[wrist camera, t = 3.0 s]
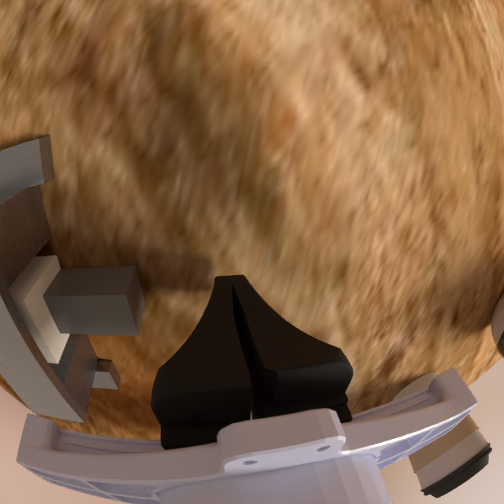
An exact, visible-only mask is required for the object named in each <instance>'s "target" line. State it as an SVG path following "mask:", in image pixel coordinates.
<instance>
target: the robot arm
mask: <svg viewBox="0 0 504 504" xmlns="http://www.w3.org/2000/svg"><path fill="white" fill-rule="evenodd" d="M352 377H353V368H352V366H351V365H350V363H349V361H348V359H347V357H346V356H345V355H344V353H343V352H342V350H341V349H340V348H338V347H335V346H332V345H330V344H327V343H325V342H322V341H320V340H318V339H316V338H314V337H312V336H310V335H308V334H306V333H304V332H303V331H301V330H299V329H298V328H296V327H295V326H293V325H292V324H290V323H289V322H287V321H286V320H285V319H283V318H282V317H281V316H280V315H279V314H278V313H276V312H275V311H274V310H273V309H272V308H271V307H270V306H269V305H268V304H267V303H266V302H265V301H264V300H263V299H262V298H261V296H260V295H259V294H258V293H257V292H256V291H255V289H254V288H253V287H252V285H251V284H250V283H249V281H248V280H247V278H246V277H245V276H244V275H231V276H217V277H216V278H215V282H214V287H213V291H212V294H211V297H210V300H209V303H208V305H207V307H206V309H205V311H204V314H203V316H202V318H201V319H200V321H199V323H198V325H197V326H196V328H195V329H194V331H193V332H192V334H191V335H190V337H189V338H188V339H187V341H186V342H185V343H184V344H183V345H182V347H181V348H180V349H179V350H178V351H177V352H176V353H175V354H174V355H173V356H172V357H171V358H170V359H169V360H168V361H167V362H166V363H165V364H164V365H162V366H161V367H160V368H159V370H158V372H157V375H156V378H155V381H154V385H153V389H152V398H151V407H152V411H153V413H154V414H155V416H156V418H157V420H158V422H159V424H160V425H161V440H141V439H127V438H116V437H107V436H99V435H92V434H86V433H80V432H74V431H69V430H64V429H60V428H59V426H58V425H57V424H56V423H55V422H53V421H52V420H50V419H48V418H45V417H41V416H37V415H33V414H27V418H26V421H25V425H24V429H23V432H22V437H21V441H20V445H19V450H18V455H17V459H16V461H17V462H18V463H19V464H20V465H22V466H23V467H25V468H27V469H28V470H29V471H31V472H33V473H34V474H36V475H37V476H39V477H41V478H42V479H44V480H46V481H47V482H49V483H52V484H56V485H59V486H62V487H65V488H68V489H72V490H75V491H79V492H82V493H86V494H90V495H94V496H98V497H102V498H106V499H111V500H115V501H121V502H126V503H132V504H393V503H392V500H391V498H390V495H389V493H388V490H387V488H386V486H385V483H384V481H383V478H382V476H381V473H380V471H379V470H380V469H383V468H384V467H387V466H389V465H391V464H393V463H395V462H396V461H399V460H401V459H403V458H404V457H406V456H408V455H410V454H412V453H414V452H415V451H417V450H419V449H421V448H422V447H424V446H426V445H428V444H429V443H431V442H433V441H434V440H436V439H438V438H439V437H441V436H443V435H444V434H446V433H447V432H449V431H451V430H452V429H453V428H454V427H455V426H456V425H457V424H458V423H459V422H460V421H461V420H462V419H463V418H464V417H465V416H466V415H467V414H468V413H469V412H470V411H471V410H472V409H473V408H474V407H475V406H476V405H477V404H478V402H477V400H476V399H475V397H474V396H473V394H472V393H471V391H470V390H469V388H468V387H467V385H466V384H465V382H464V381H463V379H462V378H461V377H460V375H459V374H458V372H457V371H456V370H455V368H451V369H449V370H447V371H445V372H443V373H440V374H439V375H437V376H436V377H435V378H434V379H433V380H432V381H431V383H430V385H429V386H428V387H426V388H424V389H421V390H419V391H417V392H414V393H412V394H410V395H407V396H405V397H402V398H400V399H397V400H394V401H392V402H389V403H386V404H384V405H381V406H378V407H375V408H372V409H369V410H366V411H363V412H360V413H356V414H353V415H351V413H350V411H349V408H348V406H347V404H346V403H347V402H348V398H347V396H346V394H345V392H346V390H347V388H348V386H349V384H350V382H351V379H352Z"/></svg>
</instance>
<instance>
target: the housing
mask: <svg viewBox="0 0 504 504" xmlns="http://www.w3.org/2000/svg"><path fill="white" fill-rule="evenodd" d="M53 178H55V177H54V170H53V162H52V154H51V144H50V135H49V136H45V137H42V138H38V139H35V140H31V141H28V142H25V143H22V144H18V145H15V146H12V147H9V148H7V149H4V150H1V151H0V374H1V375H2V376H3V378H4V379H5V380H6V381H7V383H8V384H9V385H10V386H11V388H12V389H13V390H14V391H15V392H16V394H17V395H18V396H19V397H20V398H21V399H22V401H23V402H24V403H25V404H26V405H27V406H28V407H29V408H30V409H31V410H32V412H33V413H37V414H41V415H45V416H50V417H55V418H60V419H65V420H70V421H76V422H82V423H85V417H86V412H87V407H88V403H89V398H90V393H91V389H92V387H93V388H106V389H119V384H120V376H119V374H118V372H117V370H116V368H115V366H114V364H113V362H112V361H106V360H98V358H97V356H96V354H95V352H94V350H93V348H92V346H91V344H90V342H89V339H88V337H87V335H82V334H70V335H69V337H68V340H67V342H66V345H65V347H64V350H63V353H62V355H61V358H60V360H59V363H58V364H56V363H48V362H47V360H46V359H45V357H44V356H43V354H42V352H41V351H40V349H39V347H38V346H37V344H36V342H35V341H34V339H33V337H32V335H31V333H30V332H29V330H28V328H27V326H26V324H25V322H24V320H23V318H22V316H21V314H20V312H19V310H18V308H17V306H16V304H15V302H14V300H13V298H12V296H11V293H10V291H9V288H10V287H11V285H12V284H13V283H14V281H15V280H16V279H17V278H18V276H19V275H20V274H21V273H22V271H23V270H24V269H25V268H26V266H27V265H28V264H29V263H30V262H31V260H32V259H33V258H34V257H35V256H36V255H37V253H38V252H39V251H40V250H41V249H42V248H43V247H44V246H45V244H46V243H47V242H48V241H49V240H50V239H51V236H50V232H49V228H48V224H47V220H46V215H45V211H44V206H43V201H42V196H41V191H40V184H45V183H46V182H48V181H50V180H51V179H53Z"/></svg>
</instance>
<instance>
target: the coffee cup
mask: <svg viewBox="0 0 504 504" xmlns="http://www.w3.org/2000/svg"><path fill="white" fill-rule="evenodd" d="M436 376H437V375H436V374H435V373H433V372H432V373H428V374H425V375H423V376H421V377H419V378H418V379H416V380H414V381H413V382H411V383H410V384H409V385H407V386H406V387H405V388H404V389H402V390H401V391H400V392H399V393H398V394H397V395H396V396H395V397H394V398H393V400H392V401H394V400H397V399H400V398H402V397H405V396H407V395H410V394H412V393H414V392H417V391H419V390H421V389H424V388H426V387H428V386H429V385H430V383H431V381H432V380H433V379H434V378H435V377H436ZM392 401H391V402H392ZM478 429H479V427H478V426H477V425H476V423H475V422H474V421H473V419H472V418H471V417H470V415H469V414H467V415H466V416H465V417H464V418H463V419H462V420H461V421H460V422H459V423H458V424H457V425H456V426H455V427H454V428H453V429H452V430H451V431H449V432H447V433H446V434H444V435H443V436H441V437H439V438H438V439H436V440H434V441H433V442H431V443H429V444H428V445H426V446H424V447H422V448H421V449H419V450H417V451H415V452H414V453H412V454H410V455H408V456H409V459H410V461H411V464H412V467H413V470H414V473H416V474H417V477H418V479H419V482H420V484H421V488H422V490H421V491H422V492H424V495H425V496H427V495H429V494H431V495H432V496H434V497H435V498H438V497H441V496H443V495H445V494H447V493H448V492H450V491H452V490H453V489H455V488H457V487H458V486H460V485H461V484H463V483H464V482H466V481H467V480H469V479H470V478H471V477H473V476H474V475H475V474H477V473H478V472H479V471H480V470H482V469H483V468H484V467H485V466H486V465H487V464H488V459H489V453H490V452H491V451H492V448H490V443H489V444H488V443H487V441H486V439H485V438H484V437H483V435H482V434H481V432H480V431H479V430H478Z"/></svg>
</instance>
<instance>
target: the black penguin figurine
mask: <svg viewBox="0 0 504 504" xmlns="http://www.w3.org/2000/svg"><path fill="white" fill-rule="evenodd" d="M491 330H492V336H493V339H494V341H495V344H496V345H497V351H498V353H499V354H500V355H501V356H502V357H503V358H504V293H503V295H502V296H501V298H500V299H499V301H498V303H497V305H496V307H495V310H494V313H493V317H492V322H491Z"/></svg>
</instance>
